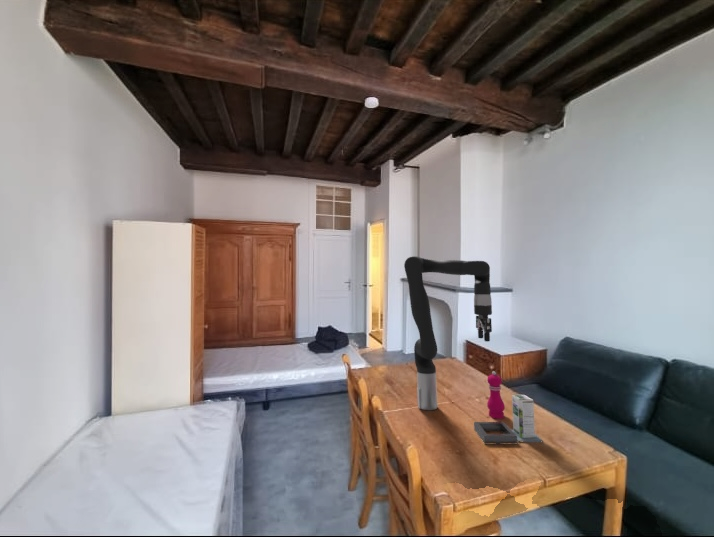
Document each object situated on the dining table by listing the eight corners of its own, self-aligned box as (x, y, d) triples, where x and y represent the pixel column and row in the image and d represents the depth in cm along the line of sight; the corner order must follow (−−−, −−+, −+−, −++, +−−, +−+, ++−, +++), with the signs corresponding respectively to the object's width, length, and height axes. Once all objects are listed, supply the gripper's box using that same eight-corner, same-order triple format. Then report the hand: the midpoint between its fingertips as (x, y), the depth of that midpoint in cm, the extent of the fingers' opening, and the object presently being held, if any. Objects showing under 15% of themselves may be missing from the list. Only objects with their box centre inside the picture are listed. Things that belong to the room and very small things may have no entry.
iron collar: (484, 444, 114) (484, 435, 114) (474, 429, 126) (473, 421, 126) (517, 444, 113) (516, 435, 114) (503, 429, 125) (503, 421, 126)
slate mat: (518, 442, 115) (518, 440, 115) (508, 431, 124) (507, 429, 124) (542, 442, 114) (542, 440, 114) (530, 431, 123) (530, 429, 123)
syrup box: (512, 431, 122) (510, 394, 123) (527, 430, 122) (524, 394, 123) (521, 438, 116) (519, 399, 117) (536, 437, 117) (533, 399, 118)
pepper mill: (491, 411, 143) (489, 368, 145) (507, 415, 138) (505, 371, 140) (485, 416, 138) (482, 371, 140) (501, 421, 133) (499, 374, 134)
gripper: (469, 303, 148) (470, 337, 147) (479, 305, 134) (480, 342, 133) (485, 303, 147) (486, 337, 146) (496, 305, 133) (498, 342, 132)
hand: (483, 339), depth 140 cm, fingers open, 8 cm apart
